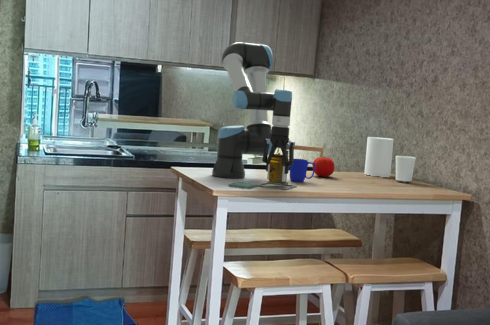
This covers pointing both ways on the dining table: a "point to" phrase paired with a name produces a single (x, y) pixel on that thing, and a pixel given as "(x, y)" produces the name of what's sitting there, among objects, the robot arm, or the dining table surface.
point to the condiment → (276, 169)
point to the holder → (276, 187)
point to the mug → (300, 170)
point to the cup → (404, 168)
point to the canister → (379, 156)
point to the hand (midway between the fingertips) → (276, 180)
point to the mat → (243, 185)
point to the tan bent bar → (308, 148)
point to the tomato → (323, 166)
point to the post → (286, 174)
